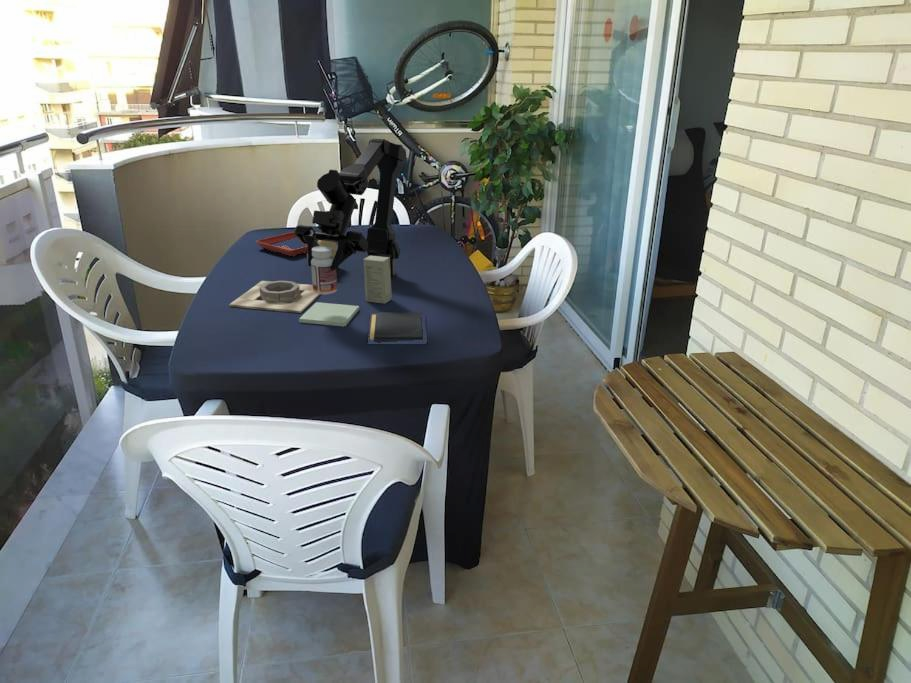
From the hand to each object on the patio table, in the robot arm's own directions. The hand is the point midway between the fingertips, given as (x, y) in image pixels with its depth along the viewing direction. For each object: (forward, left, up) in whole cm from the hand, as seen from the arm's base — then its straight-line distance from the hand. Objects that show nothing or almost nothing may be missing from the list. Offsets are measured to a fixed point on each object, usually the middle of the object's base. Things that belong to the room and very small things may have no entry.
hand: (320, 267), depth 162 cm
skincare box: (-10, -15, -13) cm, 23 cm away
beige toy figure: (+14, -37, -13) cm, 42 cm away
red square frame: (+32, -57, -14) cm, 67 cm away
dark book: (-20, +3, -14) cm, 25 cm away
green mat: (-1, -1, -13) cm, 13 cm away
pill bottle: (0, -1, -7) cm, 7 cm away
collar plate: (+17, -11, -13) cm, 24 cm away
